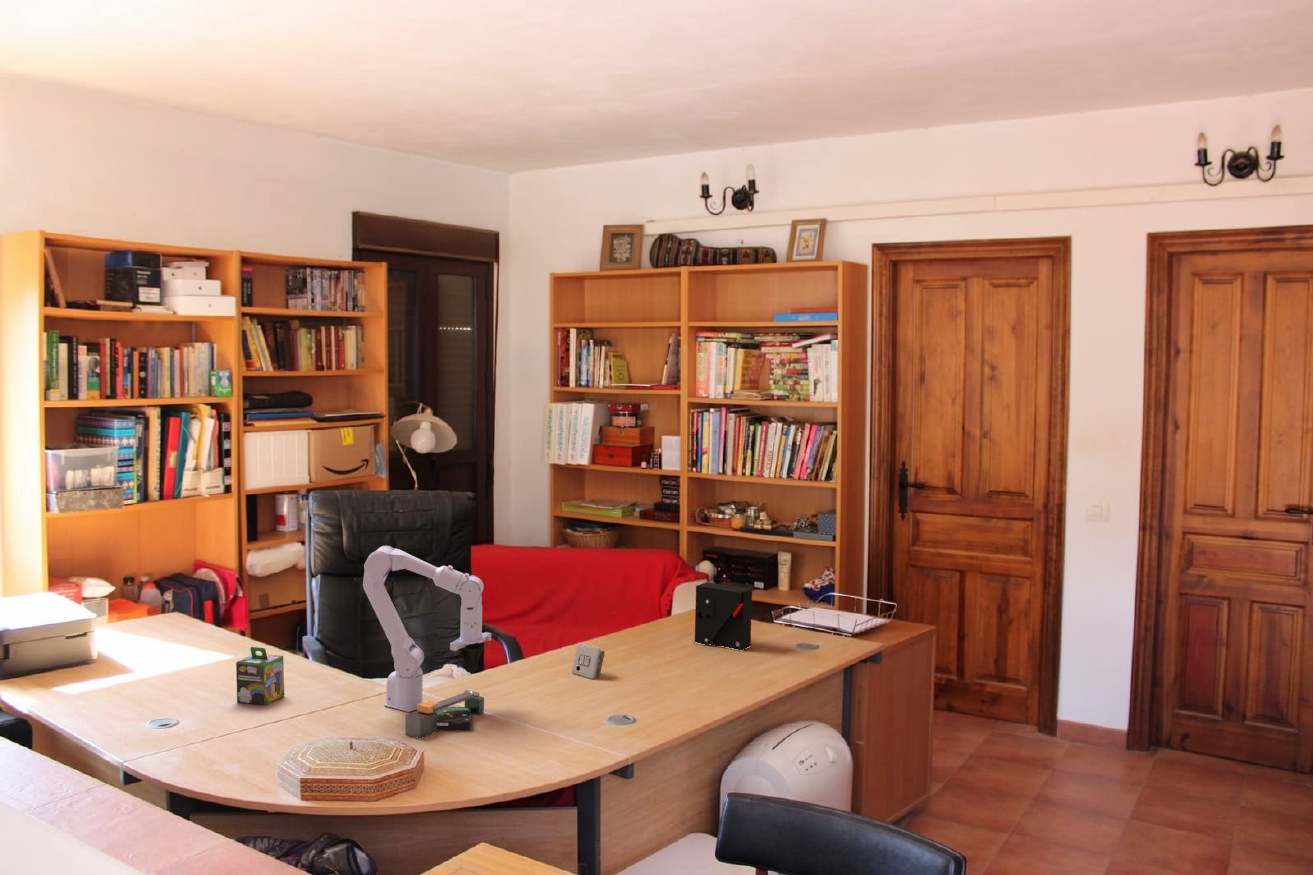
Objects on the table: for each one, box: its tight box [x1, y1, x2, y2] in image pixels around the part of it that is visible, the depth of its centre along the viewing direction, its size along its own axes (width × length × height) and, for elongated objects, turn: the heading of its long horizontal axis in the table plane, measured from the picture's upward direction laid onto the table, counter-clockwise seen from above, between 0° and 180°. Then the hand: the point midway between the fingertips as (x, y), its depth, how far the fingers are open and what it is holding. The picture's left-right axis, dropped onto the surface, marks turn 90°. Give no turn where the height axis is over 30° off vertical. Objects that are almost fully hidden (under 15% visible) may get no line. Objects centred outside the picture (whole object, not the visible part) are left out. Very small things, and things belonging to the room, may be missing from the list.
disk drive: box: [435, 706, 473, 732], centre depth 279 cm, size 10×3×15 cm
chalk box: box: [235, 646, 285, 707], centre depth 293 cm, size 9×9×15 cm
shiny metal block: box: [404, 695, 485, 739], centre depth 277 cm, size 5×24×5 cm, turn 149°
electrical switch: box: [571, 642, 606, 680], centre depth 324 cm, size 9×5×9 cm, turn 49°
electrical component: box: [694, 582, 753, 651], centre depth 363 cm, size 18×10×20 cm, turn 58°
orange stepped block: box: [416, 700, 438, 714], centre depth 271 cm, size 4×4×2 cm
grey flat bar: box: [432, 689, 480, 713], centre depth 278 cm, size 4×18×1 cm, turn 149°
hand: (470, 671), depth 291 cm, fingers closed
